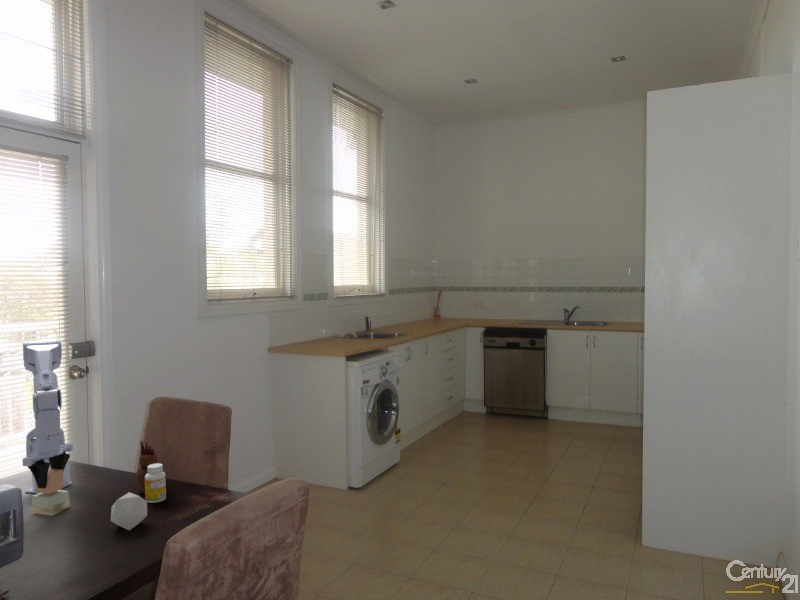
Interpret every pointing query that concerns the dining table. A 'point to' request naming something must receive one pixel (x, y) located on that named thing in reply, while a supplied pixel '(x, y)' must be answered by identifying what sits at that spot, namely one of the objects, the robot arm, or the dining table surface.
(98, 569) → the dining table surface
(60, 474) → the terracotta block
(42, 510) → the tower base block
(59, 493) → the tower top block
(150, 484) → the supplement bottle
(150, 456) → the wooden figurine
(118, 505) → the die
